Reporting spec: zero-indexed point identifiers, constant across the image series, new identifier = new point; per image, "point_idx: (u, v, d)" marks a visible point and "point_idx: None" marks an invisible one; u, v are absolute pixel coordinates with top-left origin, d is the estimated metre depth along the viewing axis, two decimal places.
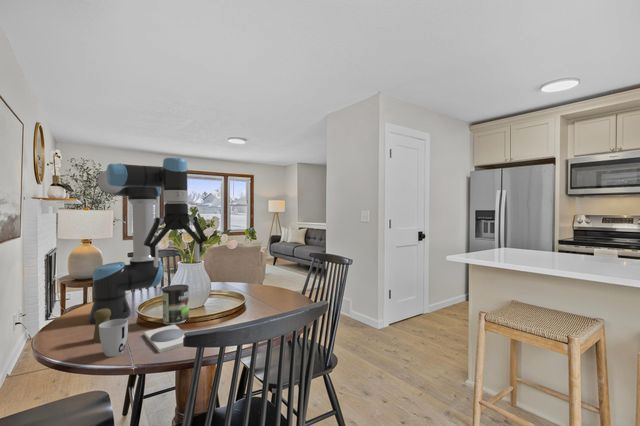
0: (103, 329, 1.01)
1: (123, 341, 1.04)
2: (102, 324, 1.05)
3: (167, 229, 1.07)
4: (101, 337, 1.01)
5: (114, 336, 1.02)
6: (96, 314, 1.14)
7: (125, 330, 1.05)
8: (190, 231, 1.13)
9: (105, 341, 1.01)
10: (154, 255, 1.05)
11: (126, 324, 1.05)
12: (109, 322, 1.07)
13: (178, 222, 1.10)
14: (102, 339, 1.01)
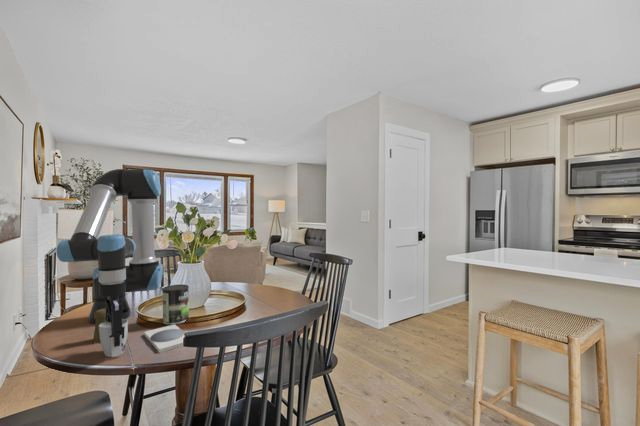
0: (103, 329, 1.01)
1: (123, 341, 1.04)
2: (102, 324, 1.05)
3: (106, 310, 1.05)
4: (101, 337, 1.01)
5: None
6: (96, 314, 1.14)
7: (125, 330, 1.05)
8: (110, 318, 1.02)
9: (105, 340, 1.01)
10: None
11: (126, 324, 1.05)
12: (109, 322, 1.07)
13: None
14: (102, 339, 1.01)
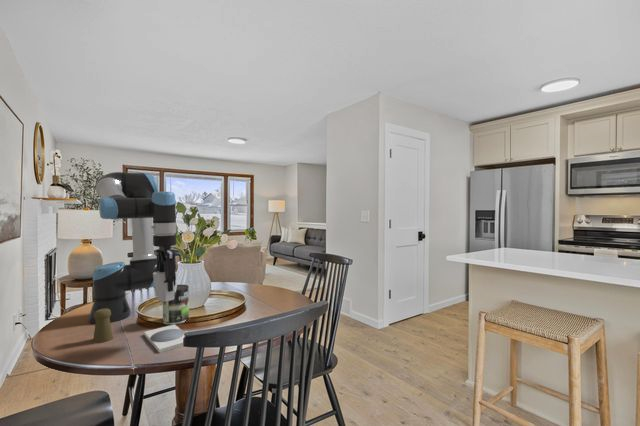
0: (158, 275, 1.11)
1: (174, 288, 1.15)
2: (155, 273, 1.15)
3: (158, 260, 1.16)
4: (156, 283, 1.12)
5: None
6: (96, 314, 1.14)
7: (176, 278, 1.15)
8: (164, 266, 1.12)
9: (159, 286, 1.11)
10: None
11: (177, 273, 1.16)
12: (160, 272, 1.18)
13: None
14: (157, 285, 1.12)
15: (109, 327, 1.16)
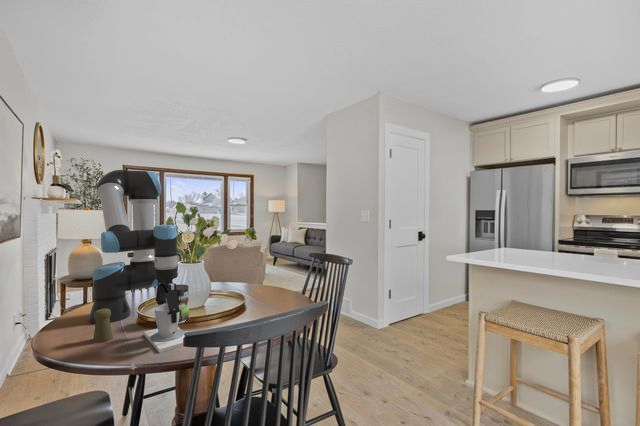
0: (160, 312, 1.12)
1: None
2: (157, 308, 1.16)
3: (159, 291, 1.17)
4: (157, 319, 1.12)
5: None
6: (96, 314, 1.14)
7: (178, 314, 1.16)
8: (166, 298, 1.12)
9: (161, 322, 1.12)
10: None
11: None
12: (162, 307, 1.18)
13: None
14: (158, 321, 1.12)
15: (109, 327, 1.16)
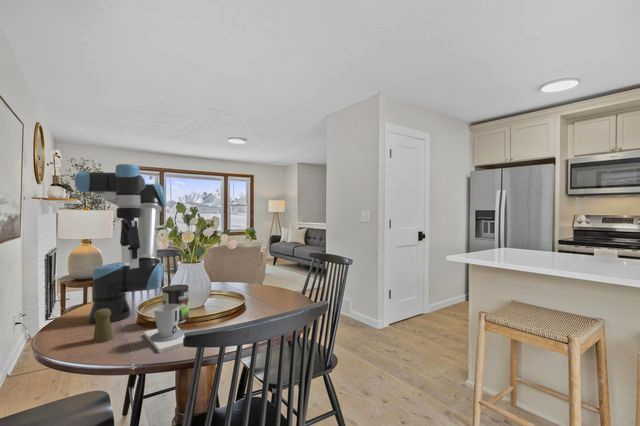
0: (159, 312, 1.12)
1: (176, 324, 1.15)
2: (156, 308, 1.16)
3: (122, 231, 1.18)
4: (157, 320, 1.12)
5: (168, 319, 1.13)
6: (96, 314, 1.14)
7: (177, 314, 1.15)
8: (128, 235, 1.12)
9: (161, 323, 1.12)
10: None
11: (178, 308, 1.16)
12: (162, 307, 1.18)
13: None
14: (158, 321, 1.12)
15: (109, 327, 1.16)
